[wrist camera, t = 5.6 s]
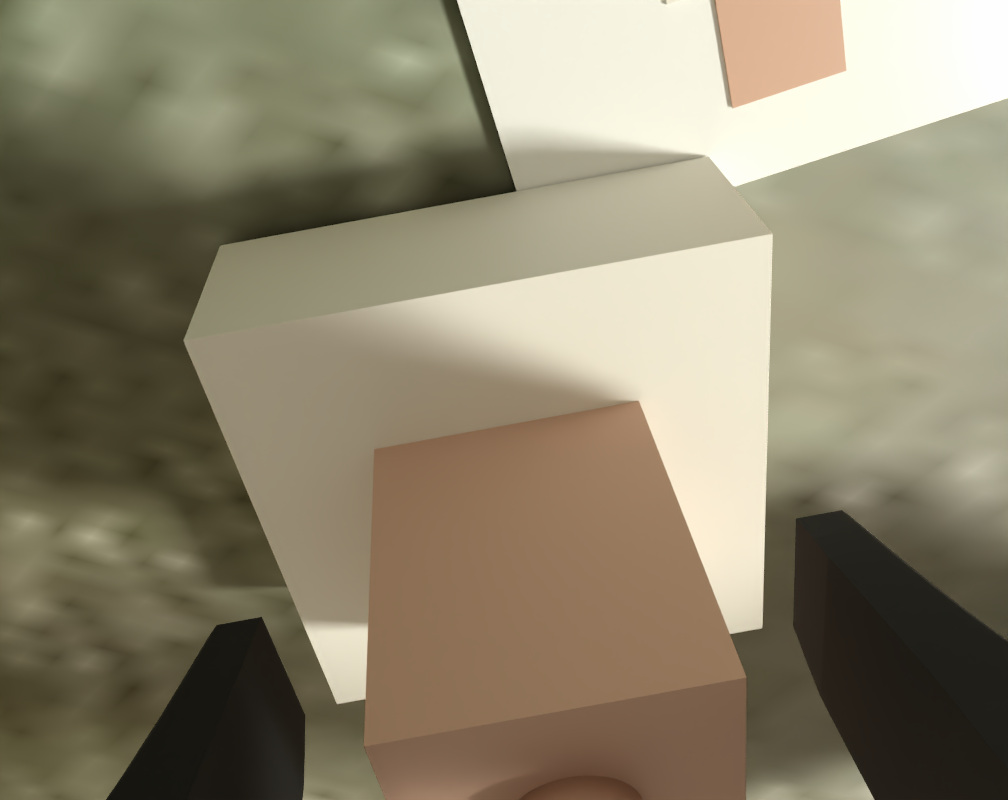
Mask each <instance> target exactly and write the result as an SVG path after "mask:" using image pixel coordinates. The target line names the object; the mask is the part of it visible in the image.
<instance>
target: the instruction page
mask: <svg viewBox="0 0 1008 800" xmlns="http://www.w3.org/2000/svg"><path fill="white" fill-rule="evenodd" d="M457 2H458V5H459V8H460V12H461V15H462V18H463V21H464V24H465V28H466V31H467V34H468V37H469V40H470V44H471V47H472V50H473V53H474V56H475V60H476V63H477V66H478V69H479V72H480V76H481V79H482V82H483V85H484V89H485V92H486V95H487V98H488V101H489V105H490V108H491V111H492V114H493V117H494V121H495V124H496V127H497V130H498V133H499V137H500V140H501V143H502V146H503V149H504V153H505V156H506V159H507V162H508V165H509V169H510V172H511V175H512V178H513V181H514V185H515V188H516V191H522V190H527V189H533V188H538V187H544V186H549V185H555V184H560V183H566V182H571V181H577V180H582V179H588V178H593V177H599V176H604V175H609V174H615V173H620V172H626V171H631V170H637V169H642V168H648V167H653V166H659V165H664V164H670V163H675V162H681V161H686V160H692V159H697V158H703V157H708V156H709V157H710V159H711V160H712V161H713V162H714V164H715V165H716V166H717V167H718V168H719V170H720V171H721V172H722V173H723V174H724V176H725V177H726V178H727V179H728V180H729V182H730V183H731V184H732V185H733V187H735V186H738V185H741V184H744V183H747V182H750V181H754V180H757V179H760V178H763V177H766V176H769V175H772V174H775V173H778V172H781V171H784V170H787V169H791V168H794V167H797V166H800V165H803V164H806V163H809V162H812V161H815V160H818V159H821V158H824V157H827V156H831V155H834V154H837V153H840V152H843V151H846V150H849V149H852V148H855V147H858V146H861V145H864V144H868V143H871V142H874V141H877V140H880V139H883V138H886V137H889V136H892V135H895V134H898V133H901V132H904V131H908V130H911V129H914V128H917V127H920V126H923V125H926V124H929V123H932V122H935V121H938V120H941V119H945V118H948V117H951V116H954V115H957V114H960V113H963V112H966V111H969V110H972V109H975V108H978V107H982V106H985V105H988V104H991V103H994V102H997V101H1000V100H1003V99H1006V98H1008V0H457Z"/></svg>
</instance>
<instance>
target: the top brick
mask: <svg viewBox="0 0 1008 800" xmlns="http://www.w3.org/2000/svg"><path fill="white" fill-rule="evenodd" d="M746 707H747V677H746V674H745V672H744V669H743V667H742V664H741V662H740V659H739V656H738V654H737V651H736V649H735V646H734V644H733V641H732V638H731V636H730V633H729V631H728V628H727V626H726V623H725V620H724V618H723V615H722V613H721V610H720V608H719V605H718V602H717V600H716V597H715V595H714V592H713V590H712V587H711V585H710V582H709V579H708V577H707V574H706V572H705V569H704V567H703V564H702V561H701V559H700V556H699V554H698V551H697V549H696V546H695V543H694V541H693V538H692V536H691V533H690V531H689V528H688V526H687V523H686V520H685V518H684V515H683V513H682V510H681V508H680V505H679V502H678V500H677V497H676V495H675V492H674V490H673V487H672V484H671V482H670V479H669V477H668V474H667V472H666V469H665V467H664V464H663V461H662V459H661V456H660V454H659V451H658V449H657V446H656V443H655V441H654V438H653V436H652V433H651V431H650V428H649V425H648V423H647V420H646V418H645V415H644V413H643V410H642V407H641V405H640V402H639V401H636V402H630V403H625V404H619V405H614V406H608V407H603V408H598V409H592V410H587V411H581V412H576V413H570V414H565V415H559V416H554V417H548V418H543V419H537V420H532V421H526V422H521V423H515V424H510V425H504V426H499V427H494V428H488V429H483V430H477V431H472V432H466V433H461V434H455V435H450V436H444V437H439V438H433V439H428V440H422V441H417V442H411V443H406V444H400V445H395V446H390V447H384V448H379V449H374V471H373V500H372V528H371V557H370V585H369V614H368V642H367V671H366V699H365V728H364V748H365V751H366V753H367V755H368V758H369V760H370V763H371V765H372V767H373V770H374V772H375V775H376V777H377V779H378V782H379V784H380V787H381V789H382V791H383V794H384V796H385V799H386V800H746Z"/></svg>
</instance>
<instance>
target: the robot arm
mask: <svg viewBox="0 0 1008 800" xmlns="http://www.w3.org/2000/svg"><path fill="white" fill-rule="evenodd" d="M793 626H794V629H795V631H796V634H797V637H798V639H799V642H800V645H801V647H802V650H803V653H804V656H805V658H806V661H807V664H808V666H809V669H810V671H811V674H812V676H813V679H814V681H815V684H816V686H817V689H818V691H819V694H820V696H821V698H822V700H823V702H824V704H825V706H826V708H827V710H828V712H829V714H830V716H831V718H832V720H833V722H834V723H835V725H836V727H837V729H838V731H839V733H840V735H841V737H842V739H843V741H844V743H845V745H846V746H847V748H848V750H849V752H850V754H851V756H852V758H853V760H854V762H855V764H856V765H857V767H858V769H859V771H860V773H861V775H862V777H863V779H864V780H865V782H866V784H867V786H868V788H869V790H870V792H871V794H872V796H873V797H874V799H875V800H1008V641H1007V640H1005V639H1004V638H1003V637H1001V636H1000V635H998V634H997V633H996V632H994V631H993V630H992V629H990V628H989V627H988V626H986V625H985V624H984V623H982V622H981V621H980V620H978V619H977V618H976V617H974V616H973V615H972V614H970V613H969V612H968V611H966V610H965V609H964V608H963V607H961V606H960V605H959V604H957V603H956V602H955V601H953V600H952V599H951V598H949V597H948V596H947V595H945V594H944V593H943V592H942V591H940V590H939V589H938V588H937V587H935V586H934V585H933V584H931V583H930V582H929V581H928V580H926V579H925V578H924V577H923V576H922V575H920V574H919V573H918V572H917V571H915V570H914V569H913V568H912V567H910V566H909V565H908V564H907V563H906V562H904V561H903V560H902V559H901V558H899V557H898V556H897V555H896V554H895V553H893V552H892V551H891V550H890V549H889V548H887V547H886V546H885V545H884V544H883V543H881V542H880V541H879V540H878V539H877V538H875V537H874V536H873V535H872V534H871V533H869V532H868V531H867V530H866V529H865V528H863V527H862V526H861V525H860V524H859V523H858V522H856V521H855V520H854V519H853V518H851V517H850V516H849V515H848V514H846V513H845V512H843V511H842V510H841V511H835V512H830V513H825V514H819V515H814V516H808V517H803V518H797V519H796V543H795V582H794V621H793ZM304 757H305V714H304V712H303V709H302V707H301V705H300V703H299V700H298V698H297V696H296V694H295V691H294V689H293V687H292V685H291V682H290V680H289V678H288V676H287V673H286V671H285V669H284V666H283V664H282V662H281V660H280V657H279V655H278V653H277V651H276V648H275V646H274V644H273V642H272V639H271V637H270V635H269V633H268V630H267V628H266V626H265V623H264V621H263V619H262V617H259V618H254V619H248V620H243V621H237V622H232V623H226V624H221V625H217V626H216V627H215V629H214V630H213V631H212V633H211V634H210V636H209V638H208V639H207V641H206V642H205V644H204V646H203V647H202V649H201V651H200V652H199V654H198V656H197V657H196V659H195V661H194V662H193V664H192V666H191V667H190V669H189V671H188V672H187V674H186V676H185V677H184V679H183V681H182V682H181V684H180V685H179V687H178V689H177V690H176V692H175V694H174V695H173V697H172V699H171V700H170V702H169V703H168V705H167V707H166V708H165V710H164V712H163V713H162V715H161V716H160V718H159V720H158V721H157V723H156V724H155V726H154V728H153V729H152V731H151V732H150V734H149V735H148V737H147V738H146V740H145V742H144V743H143V745H142V746H141V748H140V749H139V751H138V752H137V754H136V756H135V757H134V759H133V760H132V762H131V763H130V765H129V766H128V768H127V770H126V771H125V773H124V774H123V776H122V777H121V779H120V780H119V782H118V783H117V785H116V786H115V788H114V789H113V790H112V792H111V793H110V795H109V796H108V797H107V799H106V800H302V798H303V788H304Z"/></svg>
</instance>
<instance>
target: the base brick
mask: <svg viewBox="0 0 1008 800" xmlns="http://www.w3.org/2000/svg"><path fill="white" fill-rule="evenodd" d="M772 236H773V234H772V233H771V231H770V230H769V229H768V228H767V226H766V225H765V224H764V223H763V222H762V220H761V219H760V218H759V217H758V216H757V214H756V213H755V212H754V211H753V210H752V208H751V207H750V206H749V205H748V203H747V202H746V201H745V200H744V199H743V197H742V196H741V195H740V194H739V193H738V191H737V190H736V189H735V188H734V187H733V185H732V184H731V183H730V182H729V180H728V179H727V178H726V177H725V176H724V174H723V173H722V172H721V171H720V170H719V168H718V167H717V166H716V165H715V164H714V162H713V161H712V160H711V159H710V157H709V156H708V157H703V158H697V159H692V160H686V161H681V162H675V163H670V164H664V165H659V166H653V167H648V168H642V169H637V170H631V171H626V172H620V173H615V174H609V175H604V176H599V177H593V178H588V179H582V180H577V181H571V182H566V183H560V184H555V185H549V186H544V187H538V188H533V189H527V190H522V191H516V192H511V193H505V194H500V195H494V196H489V197H483V198H478V199H473V200H467V201H462V202H456V203H451V204H445V205H440V206H434V207H429V208H423V209H418V210H412V211H407V212H401V213H396V214H390V215H385V216H379V217H374V218H368V219H363V220H357V221H352V222H347V223H341V224H336V225H330V226H325V227H319V228H314V229H308V230H303V231H297V232H292V233H286V234H281V235H275V236H270V237H264V238H259V239H253V240H248V241H242V242H237V243H231V244H226V245H220V247H219V250H218V252H217V255H216V257H215V260H214V263H213V265H212V268H211V270H210V273H209V276H208V278H207V281H206V283H205V286H204V289H203V291H202V294H201V296H200V299H199V302H198V304H197V307H196V309H195V312H194V315H193V317H192V320H191V322H190V325H189V328H188V330H187V333H186V335H185V338H184V344H185V346H186V348H187V351H188V353H189V355H190V358H191V360H192V363H193V365H194V367H195V370H196V372H197V374H198V377H199V379H200V381H201V384H202V386H203V389H204V391H205V393H206V396H207V398H208V400H209V403H210V405H211V407H212V410H213V412H214V415H215V417H216V419H217V422H218V424H219V426H220V429H221V431H222V433H223V436H224V438H225V441H226V443H227V445H228V448H229V450H230V452H231V455H232V457H233V459H234V462H235V464H236V466H237V469H238V471H239V474H240V476H241V478H242V481H243V483H244V485H245V488H246V490H247V492H248V495H249V497H250V500H251V502H252V504H253V507H254V509H255V511H256V514H257V516H258V518H259V521H260V523H261V526H262V528H263V530H264V533H265V535H266V537H267V540H268V542H269V544H270V547H271V549H272V552H273V554H274V556H275V559H276V561H277V563H278V566H279V568H280V570H281V573H282V575H283V578H284V580H285V582H286V585H287V587H288V589H289V592H290V594H291V596H292V599H293V601H294V604H295V606H296V608H297V611H298V613H299V615H300V618H301V620H302V622H303V625H304V627H305V630H306V632H307V634H308V637H309V639H310V641H311V644H312V646H313V648H314V651H315V653H316V656H317V658H318V660H319V663H320V665H321V667H322V670H323V672H324V674H325V677H326V679H327V682H328V684H329V686H330V689H331V691H332V693H333V696H334V698H335V700H336V703H337V704H341V703H346V702H352V701H358V700H363V699H366V671H367V642H368V614H369V585H370V557H371V528H372V500H373V471H374V449H379V448H384V447H390V446H395V445H400V444H406V443H411V442H417V441H422V440H428V439H433V438H439V437H444V436H450V435H455V434H461V433H466V432H472V431H477V430H483V429H488V428H494V427H499V426H504V425H510V424H515V423H521V422H526V421H532V420H537V419H543V418H548V417H554V416H559V415H565V414H570V413H576V412H581V411H587V410H592V409H598V408H603V407H608V406H614V405H619V404H625V403H630V402H636V401H639V402H640V405H641V407H642V410H643V413H644V415H645V418H646V420H647V423H648V425H649V428H650V431H651V433H652V436H653V438H654V441H655V443H656V446H657V449H658V451H659V454H660V456H661V459H662V461H663V464H664V467H665V469H666V472H667V474H668V477H669V479H670V482H671V484H672V487H673V490H674V492H675V495H676V497H677V500H678V502H679V505H680V508H681V510H682V513H683V515H684V518H685V520H686V523H687V526H688V528H689V531H690V533H691V536H692V538H693V541H694V543H695V546H696V549H697V551H698V554H699V556H700V559H701V561H702V564H703V567H704V569H705V572H706V574H707V577H708V579H709V582H710V585H711V587H712V590H713V592H714V595H715V597H716V600H717V602H718V605H719V608H720V610H721V613H722V615H723V618H724V620H725V623H726V626H727V628H728V631H729V633H730V634H733V633H739V632H744V631H750V630H755V629H761V628H762V624H763V585H764V546H765V508H766V469H767V430H768V391H769V353H770V314H771V275H772Z"/></svg>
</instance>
